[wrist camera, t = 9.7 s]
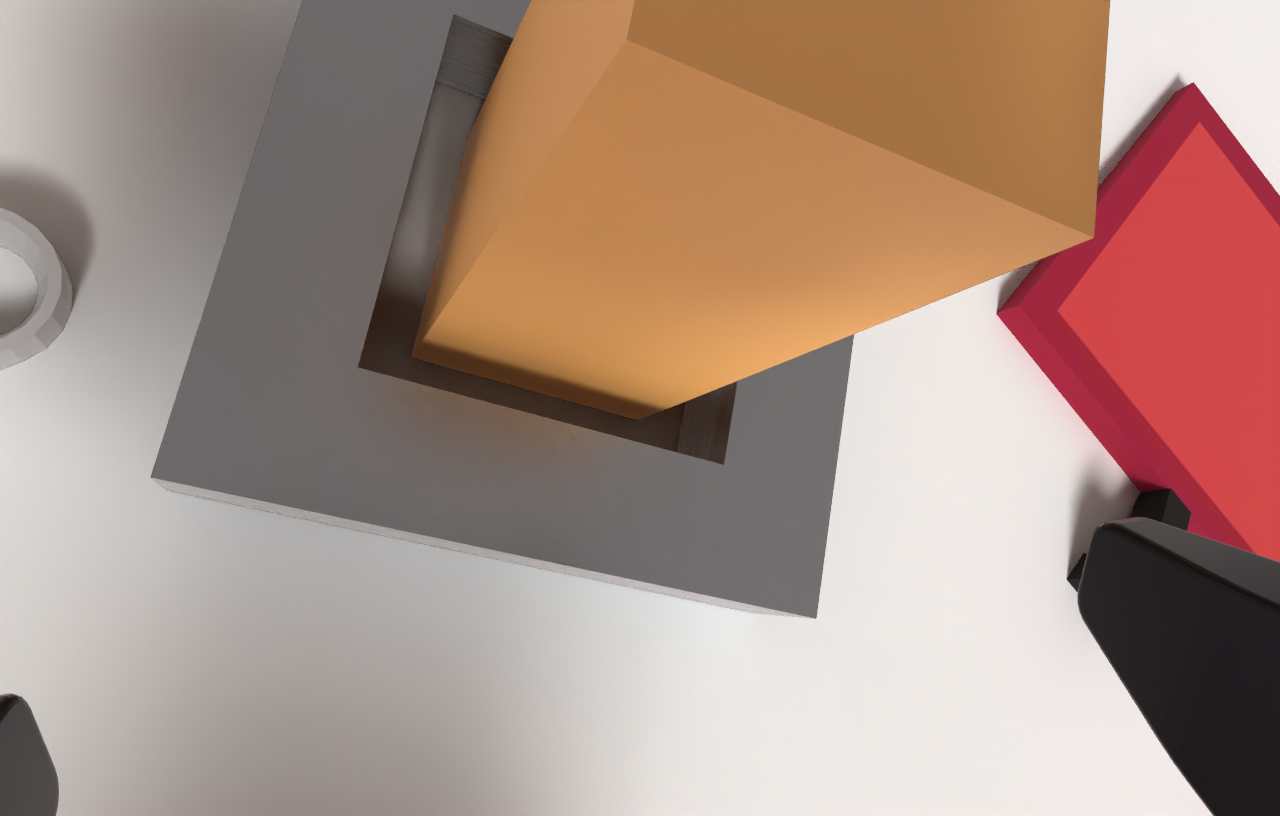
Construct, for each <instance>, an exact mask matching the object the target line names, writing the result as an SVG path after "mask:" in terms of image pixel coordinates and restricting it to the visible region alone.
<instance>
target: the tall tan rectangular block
mask: <svg viewBox="0 0 1280 816" xmlns="http://www.w3.org/2000/svg"><path fill="white" fill-rule="evenodd" d="M1109 11H1110V0H531V2H530V4H529V6H528V9H527V11H526V13H525V15H524V17H523V19H522V22H521V24H520V26H519V28H518V30H517V32H516V35H515V37H514V39H513V41H512V43H511V45H510V47H509V50H508V52H507V54H506V56H505V58H504V60H503V63H502V65H501V67H500V69H499V71H498V73H497V76H496V78H495V80H494V82H493V84H492V86H491V88H490V91H489V93H488V95H487V97H486V99H485V101H484V104H483V106H482V108H481V110H480V112H479V114H478V117H477V119H476V121H475V123H474V125H473V127H472V129H471V132H470V134H469V136H468V139H467V143H466V147H465V150H464V154H463V158H462V162H461V166H460V170H459V174H458V178H457V181H456V185H455V189H454V193H453V197H452V201H451V205H450V209H449V212H448V216H447V220H446V224H445V228H444V232H443V236H442V240H441V243H440V247H439V251H438V255H437V259H436V263H435V267H434V271H433V274H432V278H431V282H430V286H429V290H428V294H427V298H426V301H425V305H424V309H423V313H422V317H421V321H420V325H419V329H418V332H417V336H416V340H415V344H414V348H413V352H412V356H411V357H412V358H415V359H419V360H423V361H426V362H430V363H433V364H437V365H441V366H444V367H448V368H451V369H455V370H459V371H462V372H466V373H470V374H473V375H477V376H480V377H484V378H488V379H491V380H495V381H498V382H502V383H506V384H509V385H513V386H516V387H520V388H524V389H527V390H531V391H535V392H538V393H542V394H545V395H549V396H553V397H556V398H560V399H563V400H567V401H571V402H574V403H578V404H581V405H585V406H589V407H592V408H596V409H600V410H603V411H607V412H610V413H614V414H618V415H621V416H625V417H628V418H632V419H636V420H641V419H643V418H646V417H648V416H651V415H653V414H656V413H658V412H661V411H663V410H666V409H668V408H671V407H673V406H676V405H678V404H681V403H683V402H686V401H688V400H691V399H693V398H696V397H698V396H701V395H703V394H706V393H708V392H711V391H713V390H716V389H718V388H721V387H723V386H726V385H728V384H731V383H733V382H736V381H738V380H741V379H743V378H746V377H748V376H751V375H753V374H756V373H758V372H761V371H763V370H765V369H768V368H770V367H773V366H775V365H778V364H780V363H783V362H785V361H788V360H790V359H793V358H795V357H798V356H800V355H803V354H805V353H808V352H810V351H813V350H815V349H818V348H820V347H823V346H825V345H828V344H830V343H833V342H835V341H838V340H840V339H843V338H845V337H848V336H850V335H853V334H855V333H858V332H860V331H863V330H865V329H868V328H870V327H873V326H875V325H878V324H880V323H883V322H885V321H888V320H890V319H893V318H895V317H898V316H900V315H903V314H905V313H908V312H910V311H913V310H915V309H918V308H920V307H923V306H925V305H928V304H930V303H933V302H935V301H938V300H940V299H943V298H945V297H948V296H950V295H953V294H955V293H958V292H960V291H963V290H965V289H968V288H970V287H973V286H975V285H978V284H980V283H983V282H985V281H988V280H990V279H993V278H995V277H998V276H1000V275H1003V274H1005V273H1008V272H1010V271H1013V270H1015V269H1018V268H1020V267H1023V266H1025V265H1028V264H1030V263H1033V262H1035V261H1038V260H1040V259H1042V258H1045V257H1047V256H1050V255H1052V254H1055V253H1057V252H1060V251H1062V250H1065V249H1067V248H1070V247H1072V246H1075V245H1077V244H1080V243H1082V242H1085V241H1087V240H1090V239H1092V238H1094V232H1095V217H1096V202H1097V187H1098V173H1099V158H1100V143H1101V128H1102V114H1103V99H1104V84H1105V69H1106V55H1107V40H1108V25H1109Z"/></svg>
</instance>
